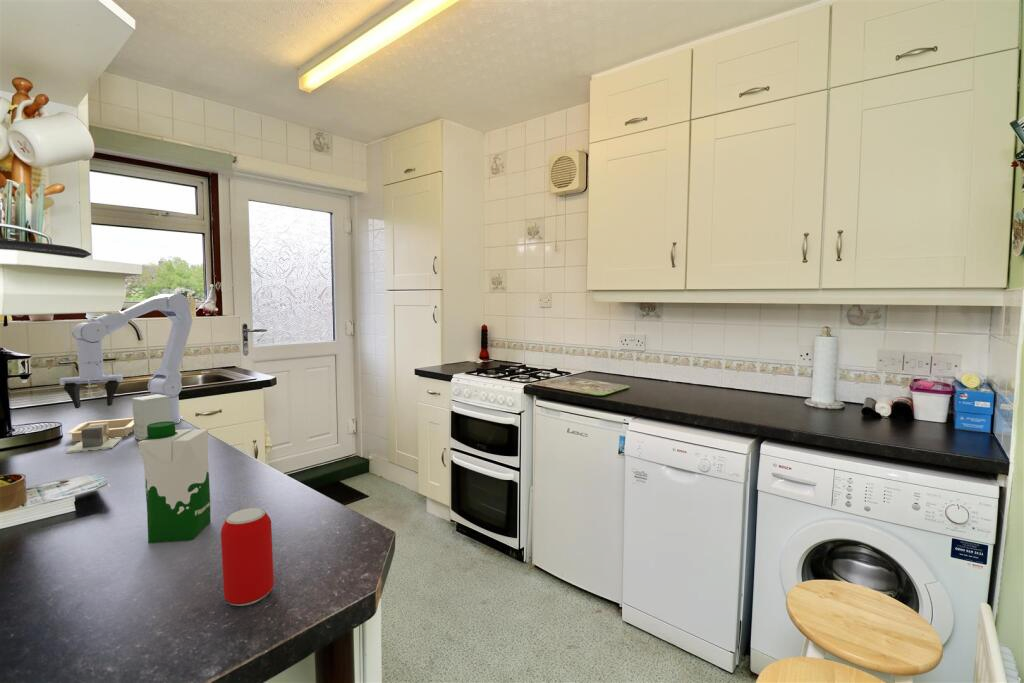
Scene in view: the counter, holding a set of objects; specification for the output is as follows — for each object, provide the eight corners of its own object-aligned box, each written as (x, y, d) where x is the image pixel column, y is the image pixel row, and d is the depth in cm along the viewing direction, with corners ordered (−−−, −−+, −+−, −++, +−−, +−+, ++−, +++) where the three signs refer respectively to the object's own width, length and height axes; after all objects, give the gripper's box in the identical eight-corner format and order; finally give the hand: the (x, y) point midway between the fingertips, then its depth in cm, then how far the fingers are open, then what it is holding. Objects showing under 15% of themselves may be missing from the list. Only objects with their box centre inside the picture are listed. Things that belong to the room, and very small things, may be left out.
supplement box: (173, 436, 149) (170, 395, 148) (144, 442, 143) (142, 400, 142) (161, 433, 153) (159, 393, 152) (133, 438, 147) (131, 397, 146)
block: (92, 440, 143) (91, 423, 142) (109, 438, 144) (108, 422, 144) (82, 448, 136) (81, 430, 135) (100, 446, 137) (99, 428, 137)
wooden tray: (83, 431, 155) (83, 422, 155) (142, 425, 162) (141, 417, 161) (65, 443, 141) (64, 433, 141) (130, 437, 148) (129, 427, 148)
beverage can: (214, 603, 67) (209, 519, 66) (254, 580, 73) (250, 502, 72) (245, 615, 65) (240, 528, 64) (283, 590, 70) (280, 509, 69)
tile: (79, 443, 142) (79, 441, 142) (122, 439, 146) (122, 437, 146) (66, 453, 133) (66, 451, 133) (112, 448, 137) (112, 446, 137)
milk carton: (166, 523, 91) (159, 418, 89) (218, 519, 93) (213, 416, 91) (138, 546, 83) (131, 431, 81) (197, 542, 84) (190, 428, 82)
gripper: (53, 365, 140) (57, 411, 141) (117, 362, 146) (120, 406, 148) (63, 362, 146) (67, 406, 148) (123, 359, 153) (126, 402, 154)
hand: (94, 406), depth 148 cm, fingers open, 7 cm apart
